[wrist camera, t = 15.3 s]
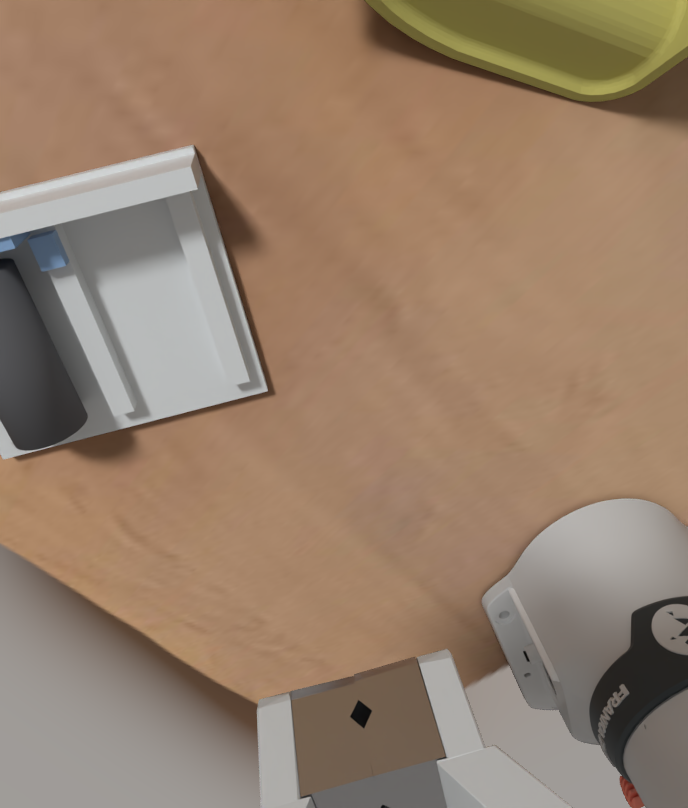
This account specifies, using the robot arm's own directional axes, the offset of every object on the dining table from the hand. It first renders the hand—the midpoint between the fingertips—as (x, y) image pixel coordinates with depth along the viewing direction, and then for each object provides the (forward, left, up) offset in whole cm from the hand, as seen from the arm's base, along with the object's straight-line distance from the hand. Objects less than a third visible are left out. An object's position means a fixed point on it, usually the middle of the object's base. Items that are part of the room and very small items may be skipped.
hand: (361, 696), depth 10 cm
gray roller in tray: (-2, +14, -28) cm, 32 cm away
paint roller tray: (-2, +10, -29) cm, 31 cm away
